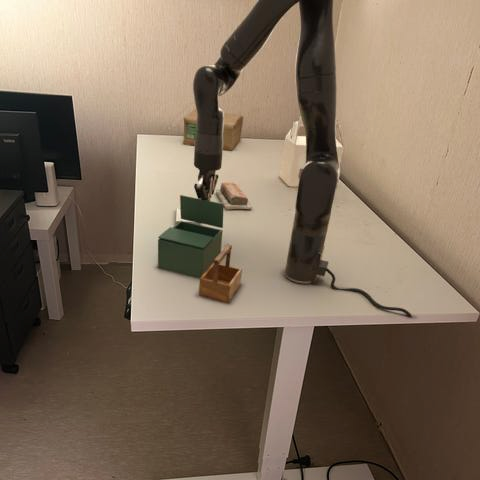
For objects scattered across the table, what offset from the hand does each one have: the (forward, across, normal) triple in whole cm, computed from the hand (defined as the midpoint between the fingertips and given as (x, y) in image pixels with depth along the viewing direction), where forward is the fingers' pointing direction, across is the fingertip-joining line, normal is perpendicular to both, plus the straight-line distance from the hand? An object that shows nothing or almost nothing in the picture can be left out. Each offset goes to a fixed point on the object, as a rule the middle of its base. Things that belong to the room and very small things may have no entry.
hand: (204, 211), depth 133 cm
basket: (+12, -21, -13) cm, 27 cm away
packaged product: (+12, +44, +5) cm, 46 cm away
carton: (+12, -10, 0) cm, 15 cm away
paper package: (+12, +123, +44) cm, 131 cm away
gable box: (+12, +86, -15) cm, 89 cm away
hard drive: (+12, +19, +13) cm, 26 cm away
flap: (-1, -3, 0) cm, 3 cm away
